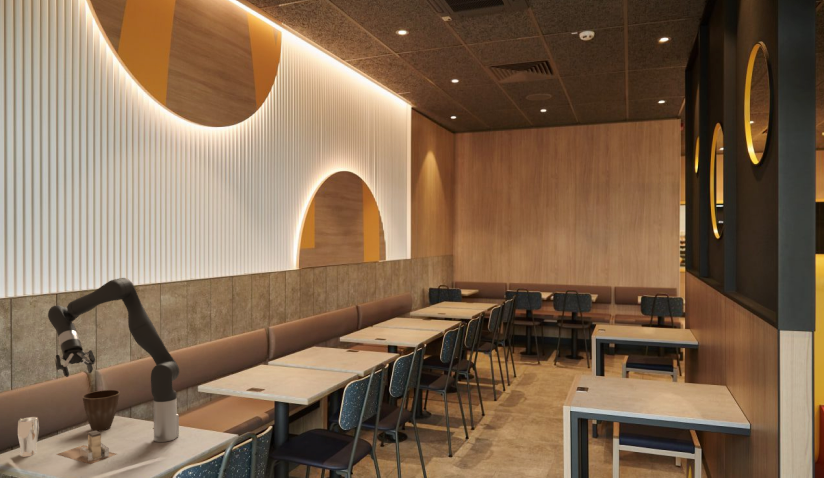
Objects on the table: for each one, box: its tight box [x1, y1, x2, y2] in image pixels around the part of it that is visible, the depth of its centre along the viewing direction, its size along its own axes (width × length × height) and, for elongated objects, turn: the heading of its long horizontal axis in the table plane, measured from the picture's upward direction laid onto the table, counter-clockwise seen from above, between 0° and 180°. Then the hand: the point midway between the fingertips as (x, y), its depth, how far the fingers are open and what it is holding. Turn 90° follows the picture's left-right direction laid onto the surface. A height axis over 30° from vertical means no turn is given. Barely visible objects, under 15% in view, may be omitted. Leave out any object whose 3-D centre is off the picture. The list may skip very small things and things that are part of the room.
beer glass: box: [17, 416, 40, 458], centre depth 221 cm, size 7×7×15 cm
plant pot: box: [82, 389, 121, 432], centre depth 253 cm, size 15×15×16 cm
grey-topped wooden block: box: [87, 431, 102, 458], centre depth 217 cm, size 5×3×9 cm, turn 48°
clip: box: [80, 442, 110, 462], centre depth 217 cm, size 9×7×3 cm
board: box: [56, 444, 117, 465], centre depth 220 cm, size 11×22×1 cm, turn 63°
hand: (79, 373), depth 231 cm, fingers open, 8 cm apart
